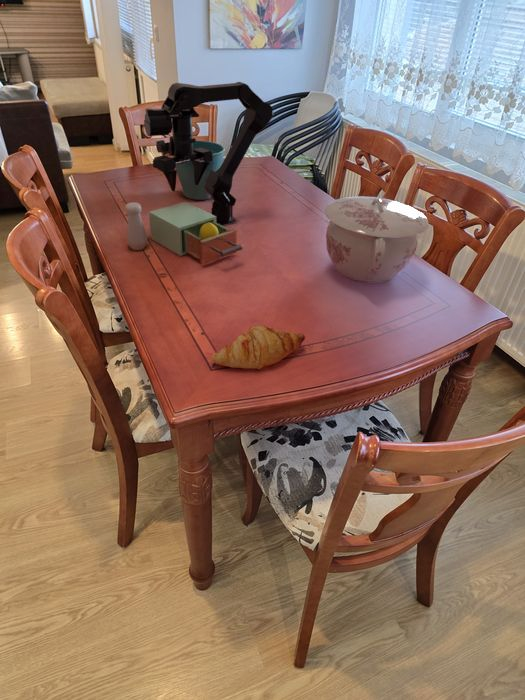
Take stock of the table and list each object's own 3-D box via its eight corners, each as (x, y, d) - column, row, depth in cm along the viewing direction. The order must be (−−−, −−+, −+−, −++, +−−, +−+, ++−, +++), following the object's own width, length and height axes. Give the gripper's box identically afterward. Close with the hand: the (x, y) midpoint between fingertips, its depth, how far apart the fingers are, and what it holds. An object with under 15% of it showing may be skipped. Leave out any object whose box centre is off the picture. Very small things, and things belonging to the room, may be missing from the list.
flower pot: (233, 194, 177) (234, 147, 166) (204, 207, 164) (203, 157, 154) (196, 183, 184) (194, 137, 173) (165, 195, 171) (161, 146, 161)
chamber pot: (354, 241, 149) (366, 175, 136) (430, 274, 134) (453, 204, 121) (295, 267, 133) (303, 195, 120) (375, 308, 118) (394, 230, 105)
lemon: (211, 255, 132) (210, 228, 127) (195, 249, 134) (194, 222, 129) (222, 248, 135) (222, 221, 130) (207, 243, 138) (207, 216, 133)
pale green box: (216, 243, 142) (216, 216, 137) (180, 256, 134) (178, 227, 129) (186, 227, 150) (185, 201, 145) (151, 239, 142) (148, 211, 137)
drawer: (248, 258, 133) (249, 236, 129) (215, 272, 126) (215, 249, 122) (206, 236, 143) (206, 215, 139) (173, 247, 136) (172, 225, 132)
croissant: (217, 387, 96) (223, 372, 89) (202, 344, 100) (207, 327, 93) (306, 362, 104) (318, 347, 97) (290, 323, 107) (300, 306, 100)
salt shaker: (143, 252, 135) (138, 209, 127) (124, 250, 135) (118, 206, 127) (151, 244, 139) (146, 201, 131) (132, 241, 140) (127, 199, 132)
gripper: (189, 124, 144) (191, 175, 154) (138, 132, 133) (144, 187, 143) (213, 131, 138) (214, 184, 148) (163, 141, 127) (167, 197, 137)
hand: (185, 188), depth 144 cm, fingers open, 9 cm apart
